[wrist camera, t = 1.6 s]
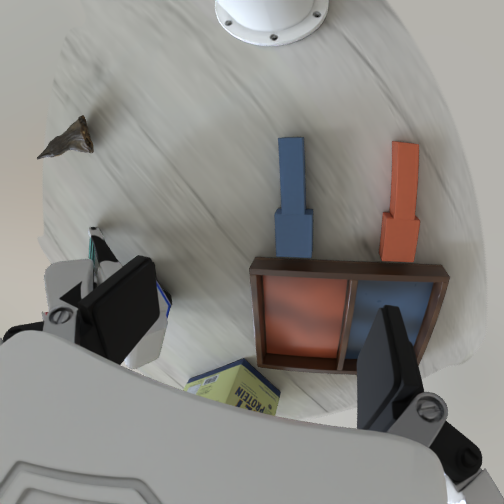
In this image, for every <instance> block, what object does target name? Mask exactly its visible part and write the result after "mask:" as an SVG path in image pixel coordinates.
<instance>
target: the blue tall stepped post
mask: <svg viewBox="0 0 504 504" xmlns="http://www.w3.org/2000/svg"><path fill="white" fill-rule="evenodd" d="M278 145H279V164H280V185H281V209H277V211H276V213H275V238H276V257H298V258H312V251H313V209H306V183H305V151H304V137H288V138H278Z"/></svg>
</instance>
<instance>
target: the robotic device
mask: <svg viewBox="0 0 504 504" xmlns="http://www.w3.org/2000/svg"><path fill="white" fill-rule="evenodd" d="M88 233H89V235H90V243H89V259H80V260H70V261H61V262H57V263H53V264H51V265H50V266H49V267H48V268H47V269H46V271H45V275H44V281H45V290H46V295H47V303H48V309H49V311H50V310H51V309H52V308H54V307H56V306H58V305H62V304H68V305H72V306H73V307H75V309H76V311H77V310H78V309H79V306H78V302H79V301H80V300H82V299H83V298H84V297H85V296H87V295H88V294H89V293H90V292H91V291H93V290H94V289H95V288H96V287H98V286H99V285H100V284H101V283H103V282H104V281H105V280H106V279H108V278H109V277H110V276H111V275H113V274H114V273H115V272H117V271H118V270H119V269H120V268H122V267H123V266H122V265H121V263H120V262H119V261H118V260H117V259H116V257H115V256H114V254H113V253H112V251H111V250H110V248H109V247H108V245H107V244H106V242H105V241H104V237H103V235H102V234H101V232H100V230H99V228H97V227H96V228H95V227H91V228H89V231H88ZM95 251H96V255H97V259H98V262H99V266H100V268H98V275H97V276H96V274H95V273H94V266H95ZM156 283H157V292H158V300H159V307H160V316H159V318H158V320H157V321H156V322H155V323H154V324H153V326H152V327H151V328H150V329H149V330H148V332H147V333H146V334H145V335H144V336H143V338H142V339H141V340H140V341H139V343H138V344H137V345H136V346H135V347H134V349H133V350H132V351H131V352H130V354H129V355H128V356H127V357H126V358H125V360H124V361H125V363H126V365H127V367H129V368H131V369H137V368H139V367H141V366H143V365H145V364H147V363H150V362H152V361H154V360H156V359H157V358H159V355H160V352H161V348H162V344H163V340H164V336H165V332H166V328H167V324H168V321H167V318H168V315H169V311H170V308H171V305H172V298H171V296H170V294H169V293H168V292H167V291H166V290H163V289H161V287H160V285H159V283H158V282H157V280H156ZM47 313H48V312H45V313H43V312H42V317H43V321H45V317H46V315H47Z"/></svg>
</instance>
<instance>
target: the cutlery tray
mask: <svg viewBox="0 0 504 504" xmlns="http://www.w3.org/2000/svg"><path fill="white" fill-rule="evenodd" d="M249 272H250V283H251V296H252V308H253V320H254V332H255V344H256V355H257V367H261V368H269V369H278V370H288V371H299V372H311V373H327V374H351V375H357V359H358V356H359V354H360V351H361V349H362V347H363V345H364V342H365V340H366V338H367V336H368V333H369V331H370V329H371V326H372V324H373V321H374V319H375V316H376V314H377V311H378V309H379V308H380V307H381V308H383V307H384V305H392V306H398V307H399V308H400V312H401V315H402V318H403V321H404V325H405V328H406V332H407V335H408V339H409V341H410V342H412V344H413V347H414V351H415V355H416V359H417V363H418V366H419V363H420V361H421V359H422V357H423V354H424V352H425V349H426V347H427V345H428V342H429V340H430V337H431V334H432V332H433V329H434V326H435V323H436V321H437V318H438V315H439V312H440V309H441V306H442V303H443V299H444V296H445V293H446V289H447V286H448V282H449V279H450V276H449V275H448V273H447V272H446V270H445V269H444V267H443V266H442V265H430V264H404V263H379V262H355V261H332V260H309V259H287V258H265V257H255V259H254V261H253V263H252V264H251V266H250V268H249Z"/></svg>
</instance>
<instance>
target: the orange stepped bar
mask: <svg viewBox="0 0 504 504" xmlns="http://www.w3.org/2000/svg"><path fill="white" fill-rule="evenodd" d="M418 167H419V144H414V143H406V142H397V141H392V182H391V200H390V213H386V212H383V217H382V228H381V238H380V247H379V255H380V257H381V260H382V261H394V262H414V258H415V252H416V246H417V240H418V233H419V226H420V220H419V219H418V218H417V216H416V215H415V209H416V199H417V186H418Z"/></svg>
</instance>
